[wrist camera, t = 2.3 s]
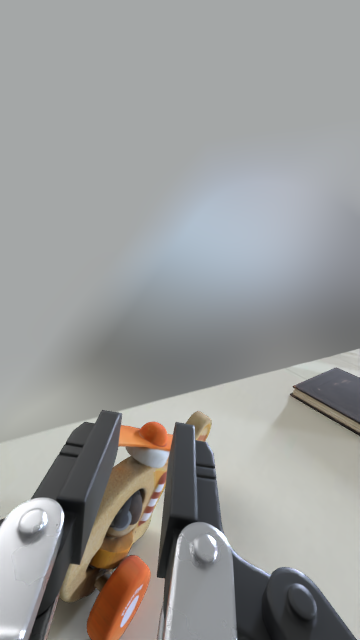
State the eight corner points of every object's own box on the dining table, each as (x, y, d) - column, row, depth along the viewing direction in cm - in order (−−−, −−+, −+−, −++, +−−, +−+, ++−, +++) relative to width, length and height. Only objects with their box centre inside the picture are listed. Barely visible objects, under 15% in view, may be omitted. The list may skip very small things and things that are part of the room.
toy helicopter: (16, 590, 20) (14, 445, 16) (170, 442, 37) (187, 355, 33) (86, 696, 16) (105, 538, 12) (222, 475, 33) (248, 381, 29)
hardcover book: (290, 395, 56) (293, 385, 55) (333, 374, 70) (336, 367, 70) (376, 445, 44) (381, 434, 44) (406, 408, 59) (410, 399, 58)
